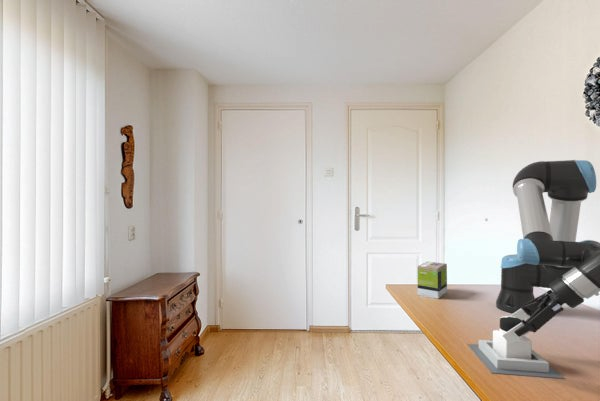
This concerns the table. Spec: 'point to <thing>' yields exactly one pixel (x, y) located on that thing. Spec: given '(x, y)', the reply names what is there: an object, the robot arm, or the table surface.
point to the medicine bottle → (517, 348)
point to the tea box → (432, 279)
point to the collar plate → (513, 362)
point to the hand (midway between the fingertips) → (506, 331)
